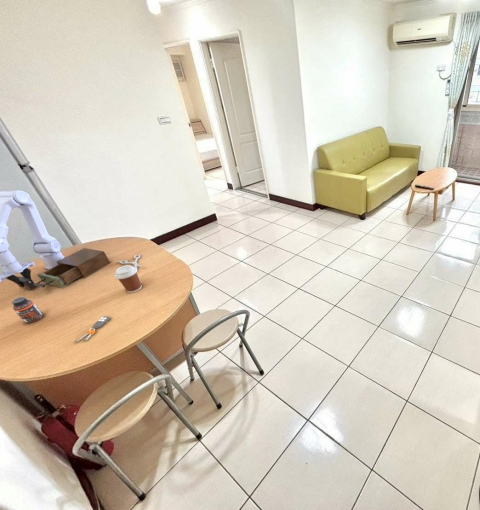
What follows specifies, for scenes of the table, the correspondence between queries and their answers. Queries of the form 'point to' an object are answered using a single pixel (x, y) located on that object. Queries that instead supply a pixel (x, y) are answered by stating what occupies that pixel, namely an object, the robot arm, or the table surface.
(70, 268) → the drawer
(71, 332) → the table surface
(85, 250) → the cabinet
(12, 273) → the robot arm
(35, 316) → the supplement bottle
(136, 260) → the scissors
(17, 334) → the table surface
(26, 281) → the black block with tab
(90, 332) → the key chain
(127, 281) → the coffee cup
